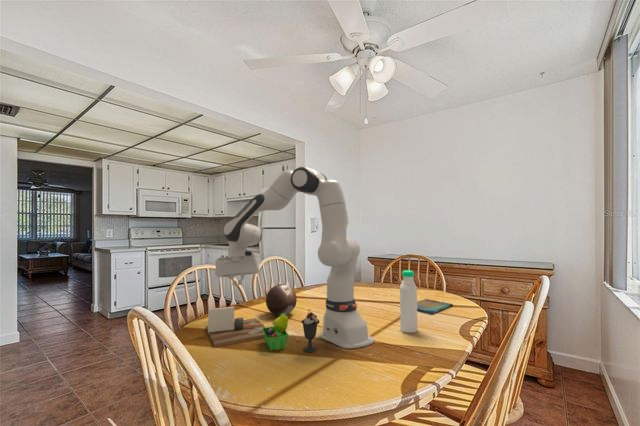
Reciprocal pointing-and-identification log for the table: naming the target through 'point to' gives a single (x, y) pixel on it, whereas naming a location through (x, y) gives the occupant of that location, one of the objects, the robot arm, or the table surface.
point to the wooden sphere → (281, 299)
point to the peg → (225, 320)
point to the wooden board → (237, 334)
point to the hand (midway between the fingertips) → (237, 284)
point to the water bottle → (408, 303)
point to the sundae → (310, 330)
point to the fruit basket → (277, 333)
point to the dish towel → (431, 306)
